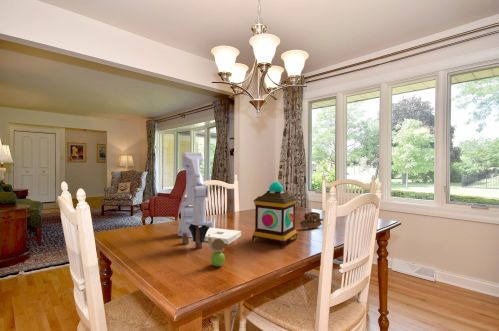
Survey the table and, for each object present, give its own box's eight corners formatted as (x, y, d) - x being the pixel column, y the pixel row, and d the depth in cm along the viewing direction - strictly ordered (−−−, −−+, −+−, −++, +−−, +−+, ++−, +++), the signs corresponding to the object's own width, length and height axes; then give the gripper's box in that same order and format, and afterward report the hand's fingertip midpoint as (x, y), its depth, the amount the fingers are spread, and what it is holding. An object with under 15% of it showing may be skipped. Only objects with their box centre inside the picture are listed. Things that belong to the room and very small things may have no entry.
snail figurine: (208, 263, 102) (208, 232, 101) (224, 263, 102) (225, 232, 102) (207, 268, 96) (207, 236, 96) (224, 268, 97) (225, 236, 97)
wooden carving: (304, 231, 152) (304, 213, 152) (299, 229, 156) (299, 212, 156) (324, 227, 160) (325, 211, 160) (319, 226, 164) (319, 210, 164)
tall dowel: (194, 248, 118) (194, 228, 118) (197, 246, 121) (197, 227, 121) (199, 249, 117) (200, 229, 117) (203, 247, 120) (203, 227, 120)
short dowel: (181, 244, 124) (181, 233, 124) (184, 242, 127) (185, 232, 127) (186, 244, 123) (186, 234, 123) (190, 243, 126) (190, 232, 126)
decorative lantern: (266, 233, 146) (267, 179, 145) (300, 239, 136) (301, 181, 136) (248, 242, 129) (249, 181, 128) (285, 249, 119) (287, 183, 118)
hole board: (195, 239, 131) (195, 234, 131) (211, 232, 146) (211, 227, 146) (228, 244, 125) (228, 239, 125) (241, 235, 140) (241, 231, 140)
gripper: (180, 211, 118) (180, 242, 118) (208, 214, 113) (208, 246, 113) (189, 209, 124) (189, 237, 125) (216, 211, 119) (216, 241, 119)
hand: (198, 241), depth 119 cm, fingers closed on tall dowel, 3 cm apart
